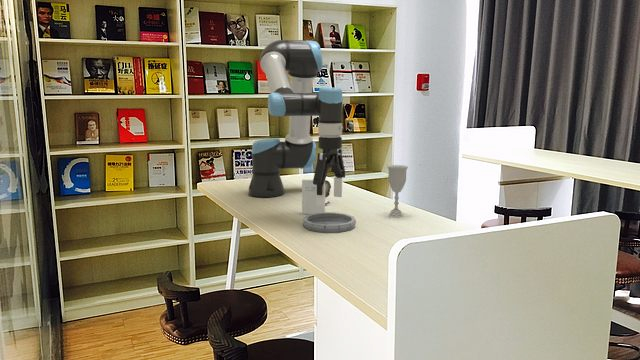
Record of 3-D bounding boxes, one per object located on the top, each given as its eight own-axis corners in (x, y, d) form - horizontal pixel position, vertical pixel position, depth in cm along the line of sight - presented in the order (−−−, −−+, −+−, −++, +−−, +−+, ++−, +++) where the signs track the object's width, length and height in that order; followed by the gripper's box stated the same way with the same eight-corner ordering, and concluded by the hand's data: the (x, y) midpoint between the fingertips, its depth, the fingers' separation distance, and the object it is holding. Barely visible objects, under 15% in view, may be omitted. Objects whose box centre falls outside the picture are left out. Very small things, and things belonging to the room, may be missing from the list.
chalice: (407, 215, 191) (409, 165, 188) (404, 219, 185) (406, 168, 181) (387, 213, 193) (389, 164, 190) (383, 217, 187) (385, 167, 184)
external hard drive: (302, 212, 194) (302, 179, 191) (324, 213, 193) (325, 179, 190) (301, 213, 192) (301, 180, 190) (324, 214, 191) (324, 180, 189)
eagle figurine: (321, 200, 213) (321, 178, 211) (335, 203, 208) (335, 181, 207) (308, 204, 208) (308, 181, 206) (321, 206, 203) (322, 183, 201)
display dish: (294, 228, 172) (294, 221, 172) (317, 217, 187) (317, 210, 187) (342, 235, 165) (343, 227, 165) (362, 222, 180) (362, 215, 180)
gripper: (324, 140, 158) (323, 209, 162) (355, 133, 180) (354, 194, 184) (301, 139, 161) (301, 207, 165) (335, 132, 183) (334, 192, 187)
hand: (329, 200), depth 175 cm, fingers open, 13 cm apart
